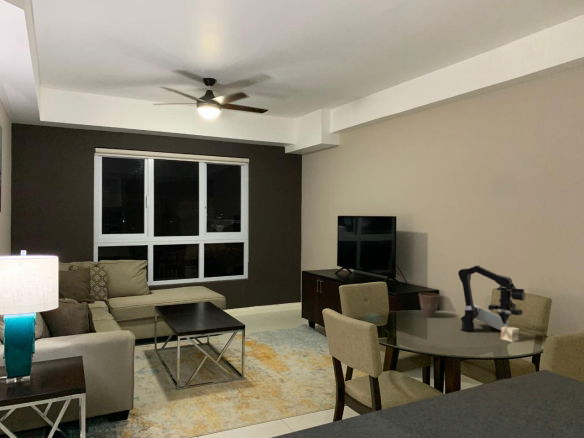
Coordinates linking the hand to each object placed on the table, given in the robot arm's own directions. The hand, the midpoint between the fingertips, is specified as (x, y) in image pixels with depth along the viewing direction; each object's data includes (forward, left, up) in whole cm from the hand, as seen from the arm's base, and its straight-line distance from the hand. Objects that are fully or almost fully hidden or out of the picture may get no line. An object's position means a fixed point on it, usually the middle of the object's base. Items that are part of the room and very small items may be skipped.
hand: (504, 323), depth 272 cm
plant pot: (-59, +5, -9) cm, 60 cm away
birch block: (0, 0, -5) cm, 5 cm away
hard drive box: (-11, +19, -5) cm, 22 cm away
